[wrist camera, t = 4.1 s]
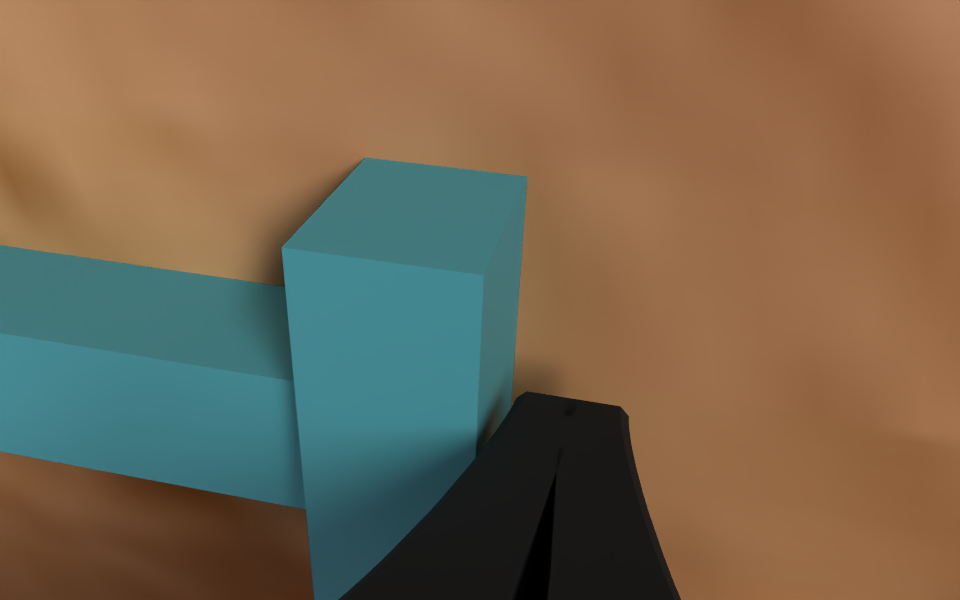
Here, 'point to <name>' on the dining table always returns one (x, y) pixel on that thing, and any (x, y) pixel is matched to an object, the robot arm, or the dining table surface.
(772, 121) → the dining table surface
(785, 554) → the dining table surface
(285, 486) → the teal t-shaped bar
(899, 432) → the dining table surface
